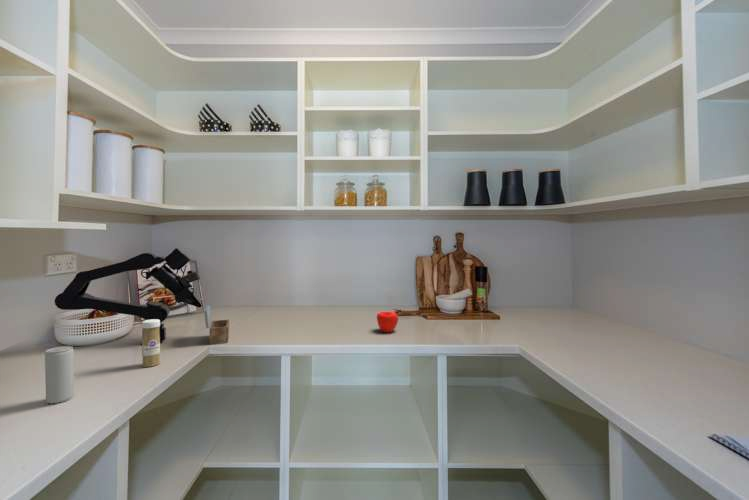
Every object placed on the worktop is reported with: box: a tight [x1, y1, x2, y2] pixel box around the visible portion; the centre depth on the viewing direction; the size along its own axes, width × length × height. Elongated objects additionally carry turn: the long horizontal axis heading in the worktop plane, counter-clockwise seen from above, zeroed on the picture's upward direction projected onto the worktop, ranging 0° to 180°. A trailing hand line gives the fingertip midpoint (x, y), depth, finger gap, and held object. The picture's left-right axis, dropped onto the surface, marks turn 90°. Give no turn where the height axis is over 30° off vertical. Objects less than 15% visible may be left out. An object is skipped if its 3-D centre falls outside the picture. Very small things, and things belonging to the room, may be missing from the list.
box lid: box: [203, 304, 213, 329], centre depth 122 cm, size 6×13×1 cm
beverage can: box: [44, 345, 75, 404], centre depth 75 cm, size 5×5×12 cm
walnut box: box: [209, 319, 230, 345], centre depth 123 cm, size 6×12×6 cm, turn 22°
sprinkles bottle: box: [141, 319, 161, 368], centre depth 97 cm, size 5×5×14 cm
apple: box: [376, 311, 399, 333], centre depth 136 cm, size 9×9×8 cm
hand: (200, 306), depth 127 cm, fingers closed
